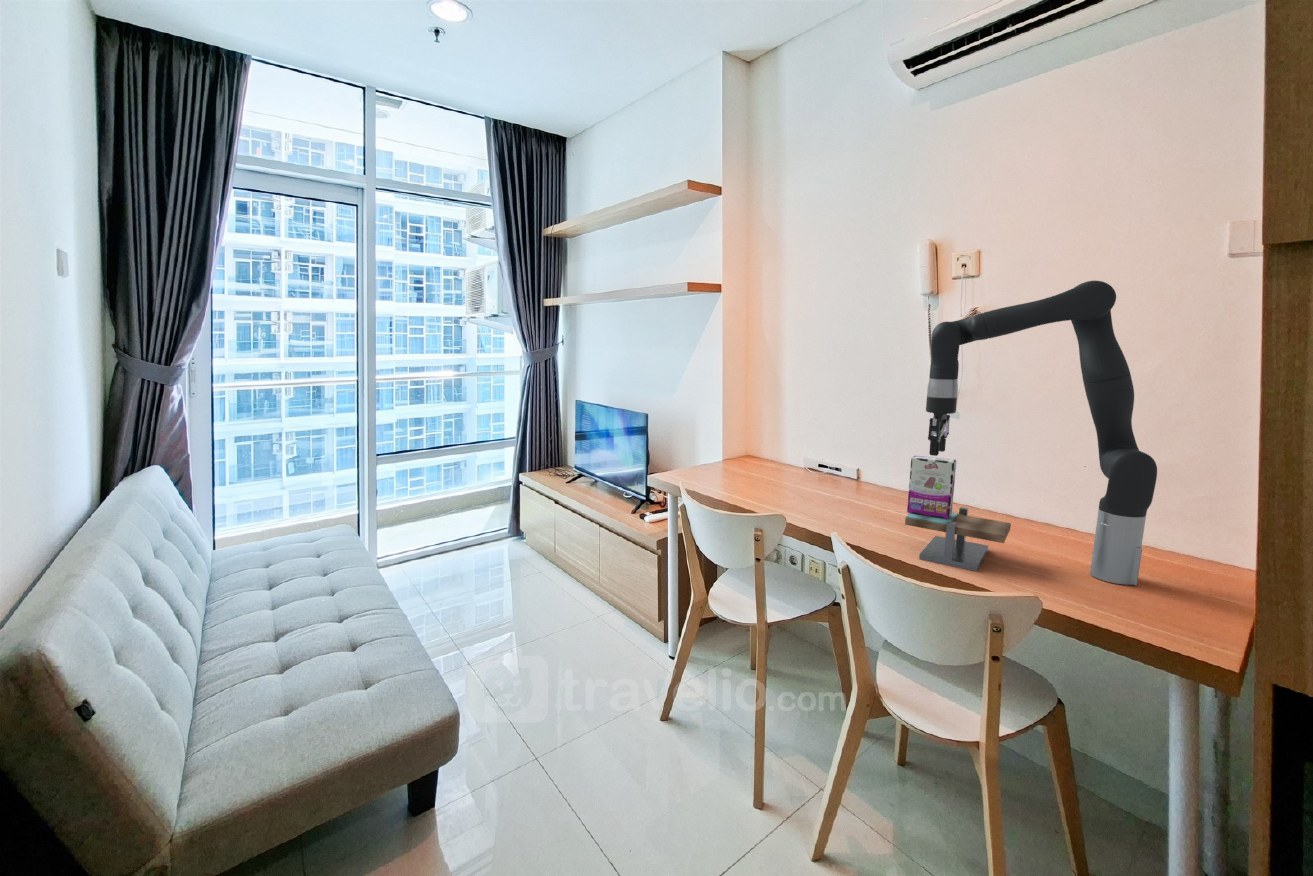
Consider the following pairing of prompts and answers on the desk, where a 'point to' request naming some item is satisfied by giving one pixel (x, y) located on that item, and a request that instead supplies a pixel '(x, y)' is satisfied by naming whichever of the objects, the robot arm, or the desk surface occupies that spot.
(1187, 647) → the desk surface
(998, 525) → the balance beam
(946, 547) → the beam stand
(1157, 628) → the desk surface
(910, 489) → the candy bar box
